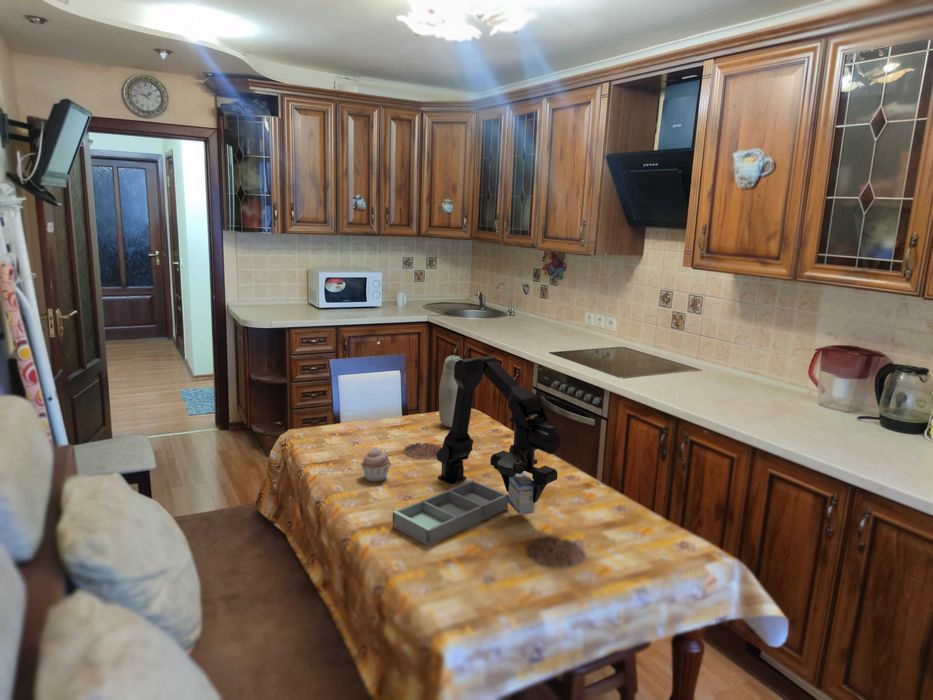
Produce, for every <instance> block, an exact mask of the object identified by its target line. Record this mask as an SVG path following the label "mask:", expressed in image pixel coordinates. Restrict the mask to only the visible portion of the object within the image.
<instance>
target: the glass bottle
mask: <svg viewBox="0 0 933 700" xmlns="http://www.w3.org/2000/svg"><path fill="white" fill-rule="evenodd" d="M458 360H463V359H462V358H461V357H460V356H458V355H455V354H453V355H449V356H447V357H446V358H445V359H444V361H443V367H442V373H441V376H440V377H441V378H440V381H439V389H438V399H439V401H438V402H439V404H438V405H439V406H438V414H439V420H440V422H441V424H442V425H444V426H445V427H447V428H451V429H452V422H453V416H454V409H455V402H456V396H457V389H458V385H457V383H456V381H455V379H454V366H455V363H456V362H457V361H458Z"/></svg>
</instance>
